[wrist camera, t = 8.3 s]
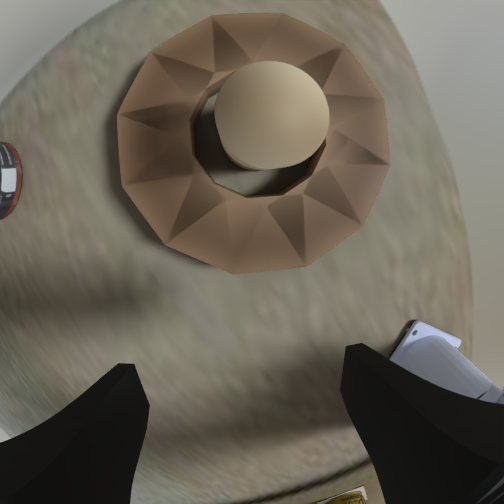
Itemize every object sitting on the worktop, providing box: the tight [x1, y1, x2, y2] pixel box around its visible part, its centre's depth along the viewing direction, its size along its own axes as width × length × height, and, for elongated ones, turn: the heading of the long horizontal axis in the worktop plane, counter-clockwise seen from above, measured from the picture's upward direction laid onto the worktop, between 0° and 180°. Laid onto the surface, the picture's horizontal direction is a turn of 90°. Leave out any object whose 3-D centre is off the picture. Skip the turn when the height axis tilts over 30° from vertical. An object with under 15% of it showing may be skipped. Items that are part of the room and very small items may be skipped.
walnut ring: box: [117, 13, 390, 274], centre depth 15 cm, size 15×15×2 cm
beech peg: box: [215, 61, 329, 171], centre depth 12 cm, size 4×4×7 cm
